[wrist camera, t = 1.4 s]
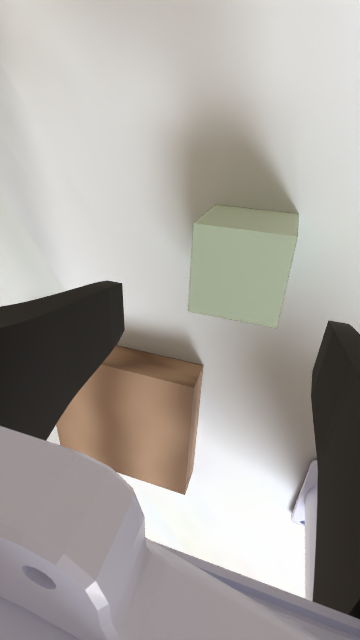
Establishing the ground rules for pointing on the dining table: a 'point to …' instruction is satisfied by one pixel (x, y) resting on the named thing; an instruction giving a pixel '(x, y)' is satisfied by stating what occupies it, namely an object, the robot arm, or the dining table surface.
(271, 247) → the sage cube
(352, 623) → the robot arm
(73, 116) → the dining table surface
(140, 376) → the light brown block
